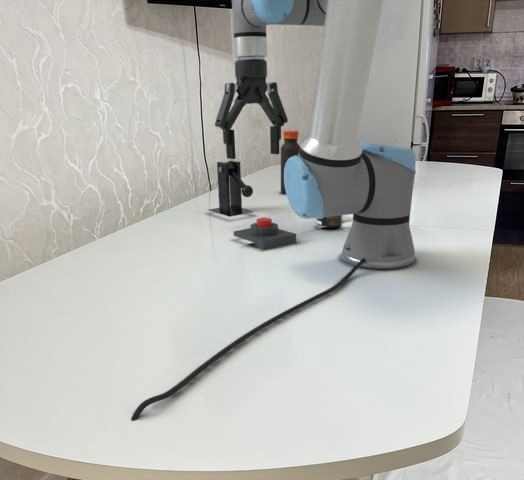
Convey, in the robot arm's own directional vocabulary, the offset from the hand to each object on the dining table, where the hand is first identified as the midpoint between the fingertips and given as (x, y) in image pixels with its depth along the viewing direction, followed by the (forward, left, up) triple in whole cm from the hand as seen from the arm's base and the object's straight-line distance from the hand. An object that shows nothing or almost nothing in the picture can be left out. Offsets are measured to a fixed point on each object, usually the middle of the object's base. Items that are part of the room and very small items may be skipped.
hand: (253, 156), depth 131 cm
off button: (-9, -9, -14) cm, 20 cm away
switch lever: (+8, +12, -9) cm, 17 cm away
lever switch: (+10, +16, -18) cm, 26 cm away
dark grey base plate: (-9, -9, -18) cm, 22 cm away
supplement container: (+11, -16, -18) cm, 27 cm away
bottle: (+48, +19, -18) cm, 54 cm away
